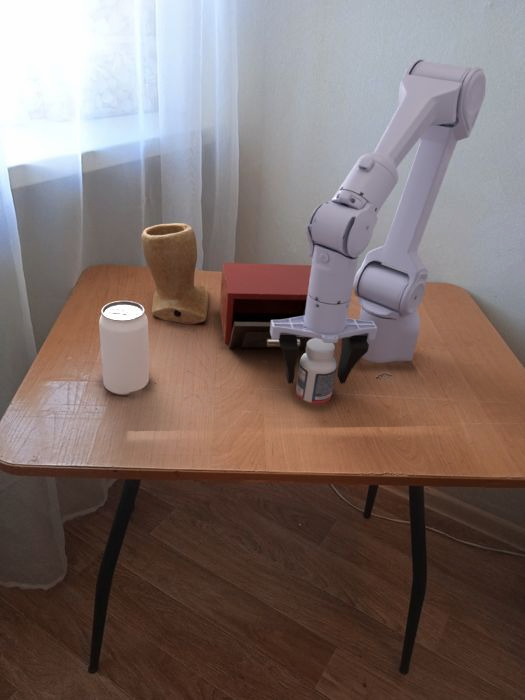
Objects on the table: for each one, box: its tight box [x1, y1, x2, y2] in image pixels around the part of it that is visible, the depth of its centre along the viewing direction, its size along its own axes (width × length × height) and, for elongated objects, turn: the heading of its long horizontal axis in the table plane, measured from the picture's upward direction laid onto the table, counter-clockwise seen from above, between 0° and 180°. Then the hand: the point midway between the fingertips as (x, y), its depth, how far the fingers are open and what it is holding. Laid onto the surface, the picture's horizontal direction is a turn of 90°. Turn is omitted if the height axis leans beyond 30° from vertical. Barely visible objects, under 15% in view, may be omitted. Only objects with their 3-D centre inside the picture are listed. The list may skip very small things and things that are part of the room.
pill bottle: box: [295, 338, 338, 404], centre depth 80 cm, size 5×5×9 cm
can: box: [98, 300, 150, 396], centre depth 78 cm, size 6×6×12 cm
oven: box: [219, 262, 312, 345], centre depth 96 cm, size 16×12×10 cm
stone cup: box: [140, 222, 209, 325], centre depth 99 cm, size 15×12×15 cm
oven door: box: [228, 322, 313, 350], centre depth 88 cm, size 15×4×9 cm
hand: (315, 379), depth 81 cm, fingers open, 7 cm apart
